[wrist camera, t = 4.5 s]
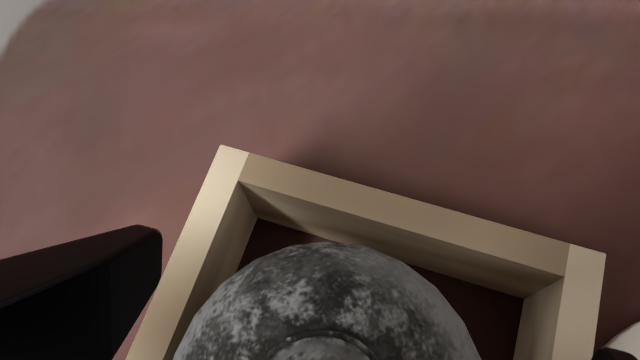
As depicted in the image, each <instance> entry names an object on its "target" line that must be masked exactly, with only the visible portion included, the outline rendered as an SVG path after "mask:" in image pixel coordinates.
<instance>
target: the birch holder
mask: <svg viewBox="0 0 640 360" xmlns="http://www.w3.org/2000/svg"><path fill="white" fill-rule="evenodd" d="M257 218H260V219H263V220H266V221H270V222H273V223H276V224H279V225H283V226H286V227H289V228H293V229H296V230H299V231H302V232H306V233H309V234H312V235H315V236H319V237H322V238H325V239H329V240H332V241H335V242H339V243H346V244H353V245H359V246H366V247H369V248H372V249H374V250H376V251H379V252H381V253H383V254H386V255H388V256H390V257H393V258H395V259H397V260H400V261H402V262H404V263H407V264H410V265H414V266H417V267H420V268H424V269H427V270H430V271H433V272H437V273H440V274H443V275H447V276H450V277H453V278H456V279H460V280H463V281H466V282H469V283H473V284H476V285H479V286H483V287H486V288H489V289H492V290H496V291H499V292H502V293H505V294H509V295H512V296H515V297H519V298H522V299H524V302H523V308H522V313H521V319H520V324H519V329H518V335H517V340H516V346H515V351H514V356H513V360H591V359H592V356H593V350H594V342H595V335H596V327H597V320H598V312H599V305H600V297H601V290H602V282H603V275H604V267H605V260H606V254H605V253H601V252H598V251H594V250H591V249H587V248H584V247H580V246H577V245H573V244H570V243H566V242H563V241H559V240H556V239H552V238H549V237H545V236H541V235H538V234H534V233H531V232H527V231H524V230H520V229H517V228H513V227H510V226H506V225H503V224H499V223H496V222H492V221H489V220H485V219H481V218H478V217H474V216H471V215H467V214H464V213H460V212H457V211H453V210H450V209H446V208H443V207H439V206H436V205H432V204H429V203H425V202H421V201H418V200H414V199H411V198H407V197H404V196H400V195H397V194H393V193H390V192H386V191H383V190H379V189H376V188H372V187H369V186H365V185H361V184H358V183H354V182H351V181H347V180H344V179H340V178H337V177H333V176H330V175H326V174H323V173H319V172H316V171H312V170H309V169H305V168H301V167H298V166H294V165H291V164H287V163H284V162H280V161H277V160H273V159H270V158H266V157H263V156H259V155H256V154H252V153H249V152H245V151H241V150H238V149H234V148H231V147H227V146H224V145H220V147H219V149H218V151H217V154H216V156H215V158H214V160H213V163H212V165H211V167H210V170H209V172H208V174H207V176H206V179H205V181H204V183H203V185H202V188H201V190H200V192H199V194H198V197H197V199H196V201H195V203H194V206H193V208H192V210H191V213H190V215H189V217H188V219H187V222H186V224H185V226H184V228H183V231H182V233H181V235H180V237H179V240H178V242H177V244H176V246H175V249H174V251H173V253H172V256H171V258H170V260H169V262H168V265H167V267H166V269H165V271H164V274H163V276H162V278H161V280H160V283H159V285H158V287H157V289H156V292H155V294H154V296H153V299H152V301H151V303H150V305H149V308H148V310H147V312H146V314H145V317H144V319H143V321H142V323H141V326H140V328H139V330H138V332H137V335H136V337H135V339H134V342H133V344H132V346H131V348H130V351H129V353H128V355H127V357H126V360H173V358H174V354H175V353H176V351H177V349H178V347H179V345H180V343H181V341H182V339H183V337H184V335H185V333H186V331H187V329H188V327H189V325H190V323H191V321H192V319H193V318H194V316H195V314H196V313H197V312H198V311H199V309H200V308H201V307H202V306H203V305H204V304H205V302H206V301H207V300H208V299H209V298H210V297H211V295H212V294H213V293H214V292H215V291H216V290H217V288H218V287H219V286H220V285H221V284H222V283H223V282H224V281H226V280H227V279H228V278H230V277H231V276H233V275H234V274H235V273H236V271H237V269H238V266H239V264H240V261H241V259H242V256H243V253H244V251H245V248H246V246H247V243H248V241H249V238H250V236H251V233H252V230H253V228H254V225H255V223H256V220H257Z"/></svg>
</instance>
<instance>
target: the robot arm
mask: <svg viewBox="0 0 640 360" xmlns="http://www.w3.org/2000/svg"><path fill="white" fill-rule="evenodd" d="M162 243H163V239H162V234H161V232H160V231H159V230H158V229H154V228H150V227H147V226H143V225H132V226H129V227H125V228H121V229H117V230H113V231H109V232H105V233H101V234H98V235H94V236H90V237H86V238H82V239H78V240H74V241H70V242H67V243H63V244H59V245H55V246H51V247H47V248H43V249H39V250H36V251H32V252H28V253H24V254H20V255H16V256H12V257H8V258H5V259H1V260H0V360H112V359H113V357H114V355H115V354H116V352H117V351H118V349H119V348H120V346H121V345H122V343H123V341H124V340H125V338H126V336H127V335H128V333H129V331H130V330H131V328H132V327H133V325H134V323H135V322H136V320H137V318H138V317H139V315H140V313H141V312H142V310H143V309H144V307H145V305H146V304H147V302H148V300H149V299H150V297H151V295H152V294H153V292H154V291H155V289H156V287H157V285H158V283H159V281H160V278H161V272H162ZM591 360H638V359H637V358H636V357H635V356H633V355H632V354H630V353H628V352H625V351H621V350H617V349H613V348H609V347H605V346H603V347H600V348H598V349H597V350H596V351H595V353H594V354H593V356H592V359H591Z"/></svg>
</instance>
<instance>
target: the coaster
mask: <svg viewBox="0 0 640 360" xmlns="http://www.w3.org/2000/svg"><path fill="white" fill-rule="evenodd" d="M605 347H609V348H613V349H617V350H621V351H625V352H628V353H630V354H632V355H633V356H635V357H636V358H637V359H638V360H640V321H638V322H636V323H634V324H632V325H630V326H629V327H627V328H626V329H624V330H623V331H621V332H620V333H618V334H617V335H616V336H614V337H613V338H612V339H611V340H610V341H609V342H608V343H607V344H606V345H605Z"/></svg>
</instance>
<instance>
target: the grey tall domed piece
mask: <svg viewBox="0 0 640 360" xmlns="http://www.w3.org/2000/svg"><path fill="white" fill-rule="evenodd" d="M173 360H481V358H480V356H479V354H478V352H477V349H476V347H475V345H474V343H473V341H472V339H471V336H470V334H469V332H468V330H467V328H466V326H465V323H464V322H463V320H462V319H461V318H460V317H459V315H458V314H457V313H456V312H455V310H454V309H453V308H452V307H451V305H450V304H449V303H448V301H447V300H446V299H445V298H444V296H443V295H442V294H441V293H440V291H439V290H438V289H437V288H436V287H435V286H434V285H432V284H431V283H430V282H429V281H427V280H426V279H425V278H423V277H422V276H421V275H420V274H418V273H417V272H416V271H414V270H413V269H412V268H410V267H409V266H408V265H407V264H405V263H404V262H402V261H400V260H397V259H395V258H393V257H390V256H388V255H386V254H383V253H381V252H379V251H376V250H374V249H372V248H369V247H366V246H359V245H353V244H346V243H339V242H333V241H325V242H316V243H307V244H298V245H291V246H288V247H286V248H283V249H280V250H278V251H275V252H273V253H270V254H268V255H265V256H262V257H260V258H257V259H255V260H254V261H252V262H251V263H249V264H248V265H247V266H245V267H244V268H242V269H241V270H240V271H238V272H237V273H235V274H234V275H233V276H231V277H230V278H228V279H227V280H226V281H224V282H223V283H222V284H221V285H220V286H219V287H218V288H217V290H216V291H215V292H214V293H213V294H212V295H211V297H210V298H209V299H208V300H207V301H206V302H205V304H204V305H203V306H202V307H201V308H200V309H199V311H198V312H197V313H196V314H195V316H194V318H193V319H192V321H191V323H190V325H189V327H188V329H187V331H186V333H185V335H184V337H183V339H182V341H181V343H180V345H179V347H178V349H177V351H176V353H175V354H174V358H173Z"/></svg>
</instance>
